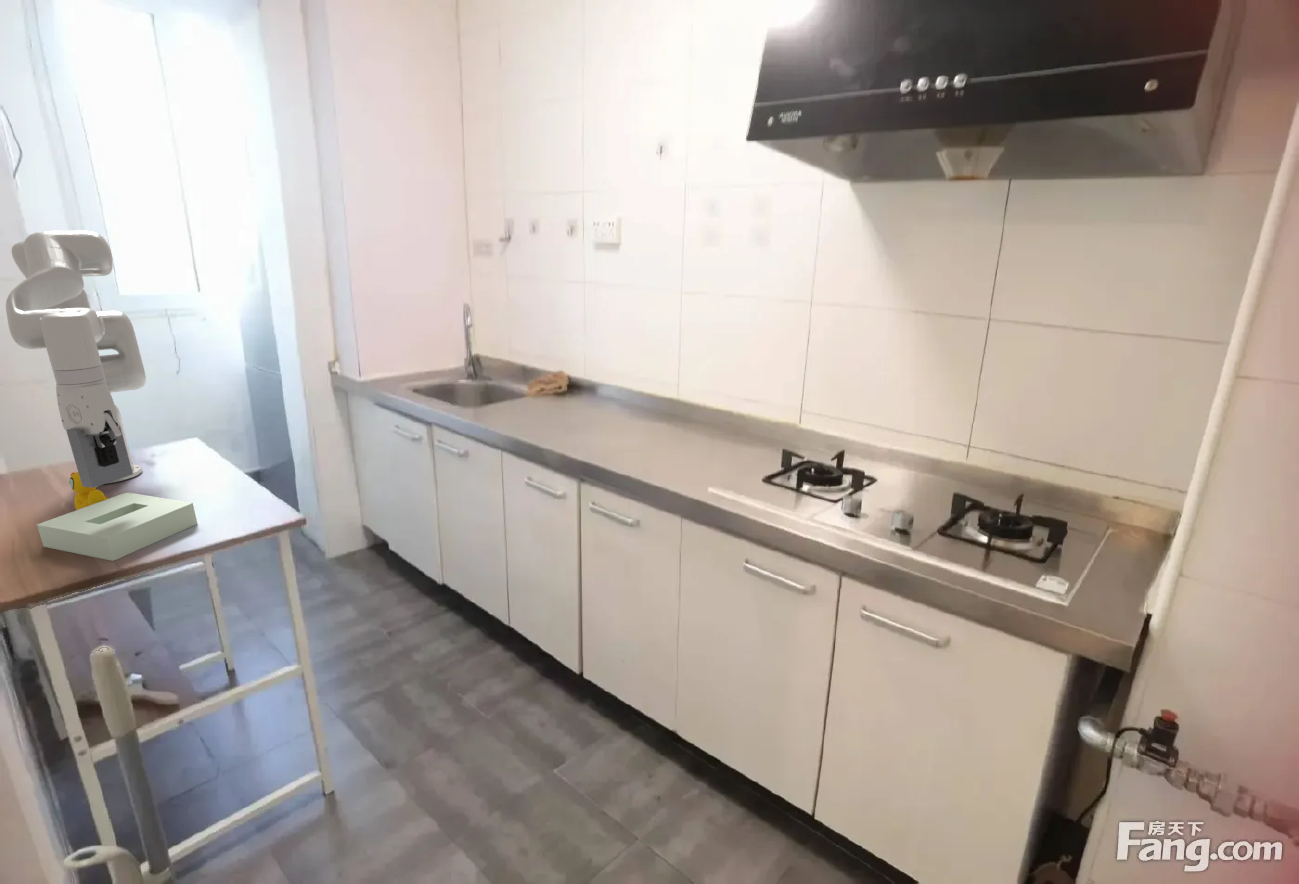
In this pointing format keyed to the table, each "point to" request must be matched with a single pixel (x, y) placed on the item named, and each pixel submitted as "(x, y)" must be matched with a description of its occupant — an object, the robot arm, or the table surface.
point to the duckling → (84, 493)
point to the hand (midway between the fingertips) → (103, 462)
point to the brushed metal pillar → (97, 459)
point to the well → (117, 525)
